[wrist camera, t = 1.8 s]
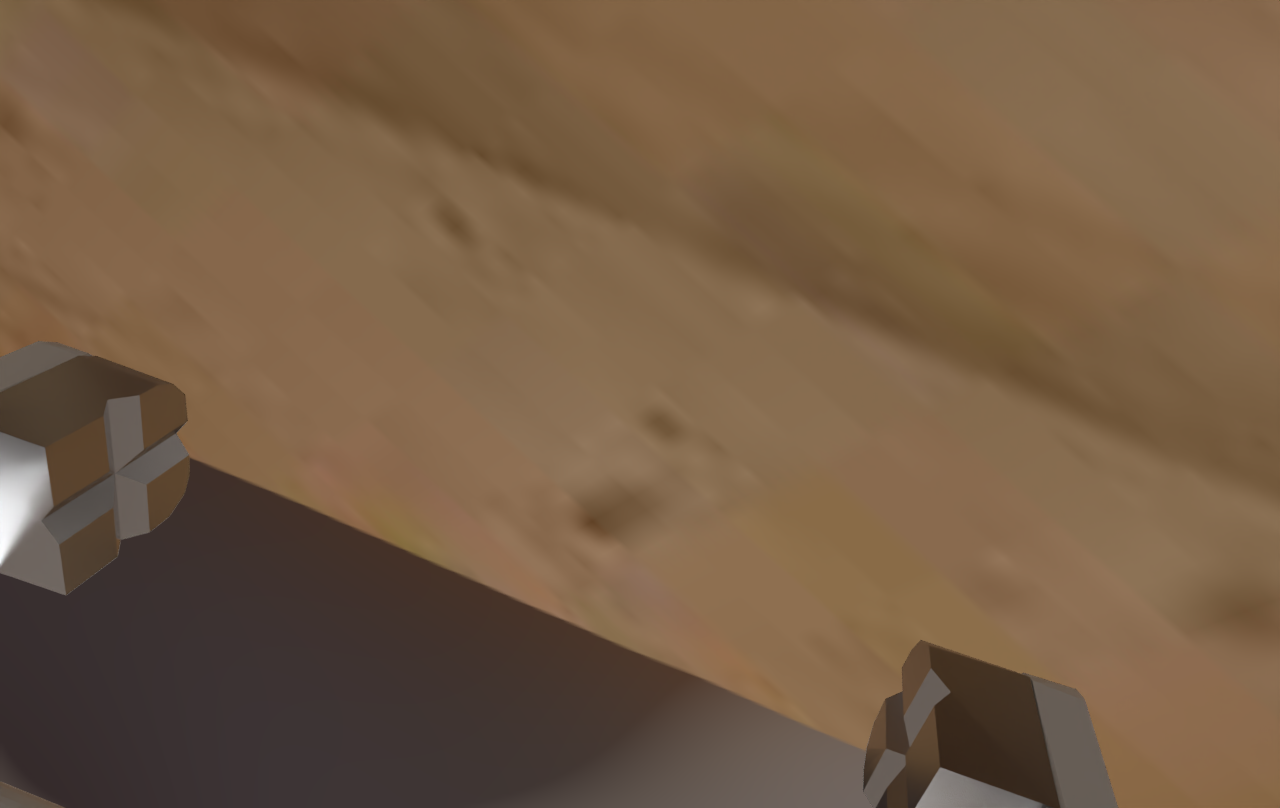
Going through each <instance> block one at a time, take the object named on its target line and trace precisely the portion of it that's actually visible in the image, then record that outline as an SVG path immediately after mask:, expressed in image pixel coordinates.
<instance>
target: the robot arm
mask: <svg viewBox="0 0 1280 808" xmlns="http://www.w3.org/2000/svg"><path fill="white" fill-rule="evenodd" d="M187 421H188V419H187V408H186V398H185V394H184V393H183V392H182V391H181V390H179V389H178V388H177V387H176V386H175V385H174V384H172V383H169V382H166V381H163V380H161V379H158V378H155V377H153V376H150V375H147V374H144V373H142V372H139V371H136V370H133V369H131V368H128V367H125V366H123V365H120V364H117V363H114V362H112V361H109V360H106V359H104V358H101V357H98V356H92V355H90V354H88V353H86V352H83V351H80V350H77V349H75V348H72V347H69V346H66V345H63V344H60V343H58V342H42V341H38V342H36V343H33V344H31V345H28V346H26V347H24V348H21V349H19V350H17V351H14V352H12V353H9V354H7V355H5V356H2V357H0V573H2V574H5V575H8V576H11V577H14V578H17V579H20V580H23V581H25V582H28V583H31V584H34V585H37V586H40V587H43V588H46V589H49V590H52V591H55V592H58V593H60V594H63V595H67V594H69V593H70V592H71V591H73V590H74V589H75V588H76V587H78V586H79V585H81V584H82V583H83V582H85V581H86V580H87V579H89V578H90V577H91V576H93V575H94V574H95V573H96V572H98V571H99V570H101V568H103V567H105V566H106V565H107V564H109V563H110V562H111V561H112V560H114V559H115V558H116V557H118V552H119V546H120V542H121V540H122V539H126V538H130V537H133V536H137V535H141V534H145V533H149V532H151V531H152V530H153V529H154V528H156V527H157V526H158V525H159V524H161V523H162V522H163V521H164V520H166V519H167V518H168V517H169V516H170V515H171V513H172V512H173V510H174V509H175V507H176V506H177V504H178V503H179V501H180V500H181V498H182V497H183V495H184V494H185V490H186V486H187V482H188V478H189V474H190V471H189V470H190V469H189V454H188V452H187V451H186V449H185V447H184V446H183V444H182V442H181V441H180V439H179V437H178V436H177V434H176V433H177V432H178V431H179V430H180V429H181V428H182V426H183V425H184V424H185V423H186V422H187ZM902 686H903V691H902V692H900V693H898V694H896V695H893V696H891V697H889V698H886V699H885V701H884V703H883V705H882V707H881V709H880V711H879V713H878V716H877V718H876V720H875V722H874V725H873V728H872V731H871V735H870V738H869V742H868V745H867V748H866V756H865V763H864V775H863V792H864V794H865V796H866V797H867V799H868V800H869V802H870V804H871V805H872V807H873V808H1118V805H1117V802H1116V799H1115V796H1114V792H1113V789H1112V786H1111V783H1110V780H1109V776H1108V773H1107V770H1106V767H1105V763H1104V760H1103V757H1102V754H1101V750H1100V747H1099V744H1098V741H1097V738H1096V734H1095V731H1094V728H1093V725H1092V721H1091V718H1090V715H1089V712H1088V708H1087V705H1086V702H1085V699H1084V698H1083V696H1082V695H1081V694H1080V693H1079V692H1078V691H1077V690H1076V689H1074V688H1071V687H1068V686H1064V685H1061V684H1058V683H1055V682H1052V681H1048V680H1045V679H1042V678H1039V677H1036V676H1032V675H1029V674H1026V673H1022V674H1020V673H1017V672H1015V671H1012V670H1009V669H1006V668H1003V667H1000V666H997V665H994V664H991V663H988V662H985V661H982V660H979V659H976V658H973V657H970V656H967V655H964V654H961V653H958V652H955V651H952V650H949V649H946V648H943V647H940V646H937V645H934V644H931V643H928V642H925V641H922V640H920V641H919V642H918V644H917V645H916V646H915V647H914V648H913V649H912V650H911V652H910V654H909V656H908V657H907V659H906V661H905V663H904V665H903V667H902ZM0 808H64V807H62V806H59V805H57V804H54V803H52V802H50V801H47V800H45V799H42V798H40V797H37V796H35V795H32V794H30V793H27V792H25V791H23V790H20V789H18V788H15V787H13V786H10V785H8V784H5V783H3V782H0Z"/></svg>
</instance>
